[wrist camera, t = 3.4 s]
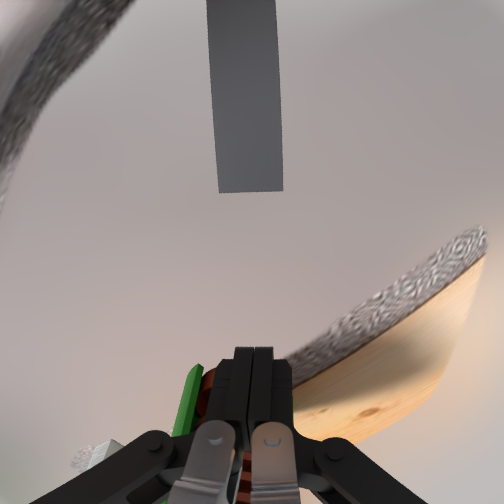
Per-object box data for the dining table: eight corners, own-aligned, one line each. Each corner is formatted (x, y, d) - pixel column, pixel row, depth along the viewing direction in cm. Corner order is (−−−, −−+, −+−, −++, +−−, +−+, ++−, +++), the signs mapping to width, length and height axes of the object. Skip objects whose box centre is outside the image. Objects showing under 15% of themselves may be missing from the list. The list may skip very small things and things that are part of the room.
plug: (289, 177, 20) (295, 203, 15) (218, 179, 20) (202, 206, 16) (276, -72, 12) (276, -111, 7) (204, -66, 12) (186, -102, 8)
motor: (302, 373, 27) (309, 598, 10) (278, 424, 31) (274, 598, 14) (187, 354, 27) (130, 580, 9) (184, 409, 31) (146, 582, 13)
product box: (146, 457, 39) (135, 498, 32) (127, 463, 41) (116, 500, 34) (111, 437, 37) (96, 479, 30) (95, 444, 39) (81, 482, 32)
